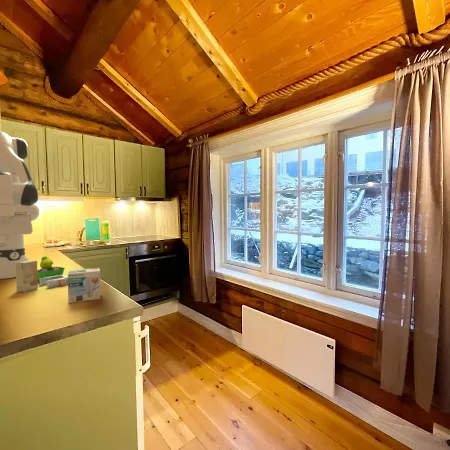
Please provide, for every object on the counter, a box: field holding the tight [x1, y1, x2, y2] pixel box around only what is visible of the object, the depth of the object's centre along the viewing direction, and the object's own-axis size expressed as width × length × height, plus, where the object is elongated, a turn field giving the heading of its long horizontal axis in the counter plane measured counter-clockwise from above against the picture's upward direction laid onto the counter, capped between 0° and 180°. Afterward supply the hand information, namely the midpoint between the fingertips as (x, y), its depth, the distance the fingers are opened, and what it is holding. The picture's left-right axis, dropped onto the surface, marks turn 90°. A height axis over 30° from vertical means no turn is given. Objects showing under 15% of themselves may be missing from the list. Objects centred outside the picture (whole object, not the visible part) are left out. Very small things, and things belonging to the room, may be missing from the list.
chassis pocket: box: [39, 274, 68, 289], centre depth 120 cm, size 18×13×3 cm
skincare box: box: [15, 259, 39, 293], centre depth 109 cm, size 6×4×12 cm
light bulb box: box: [67, 267, 101, 304], centre depth 97 cm, size 11×7×11 cm, turn 117°
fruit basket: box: [37, 256, 66, 282], centre depth 127 cm, size 11×9×11 cm
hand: (1, 247), depth 102 cm, fingers closed
